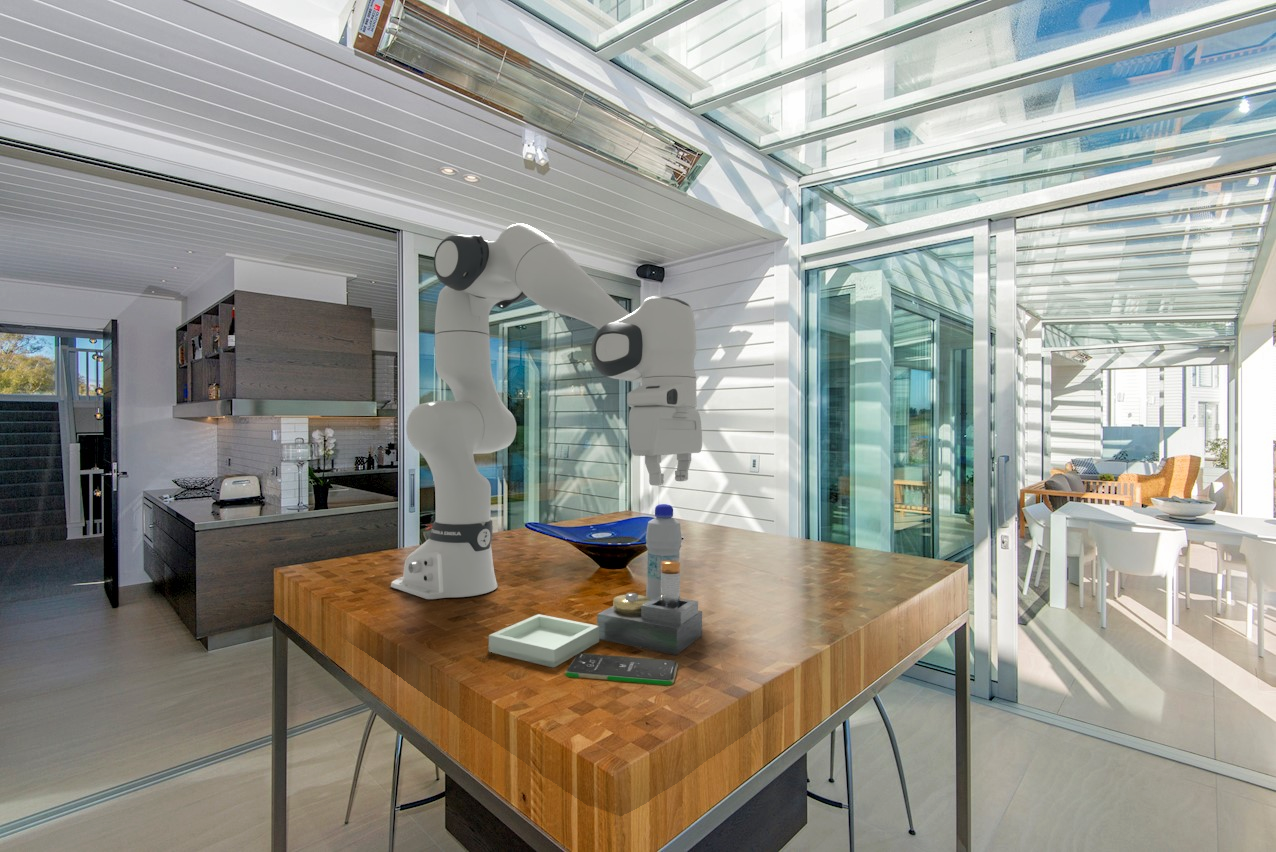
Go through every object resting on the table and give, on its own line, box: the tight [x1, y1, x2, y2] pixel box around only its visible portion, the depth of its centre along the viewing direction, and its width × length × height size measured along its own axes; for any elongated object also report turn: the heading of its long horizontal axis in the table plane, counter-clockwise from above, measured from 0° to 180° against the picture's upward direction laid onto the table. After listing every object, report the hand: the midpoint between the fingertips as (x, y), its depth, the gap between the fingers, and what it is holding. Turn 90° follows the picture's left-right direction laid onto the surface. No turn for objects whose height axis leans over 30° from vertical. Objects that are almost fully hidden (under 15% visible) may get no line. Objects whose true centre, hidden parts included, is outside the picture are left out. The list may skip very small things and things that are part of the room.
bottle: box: [645, 503, 683, 601], centre depth 110 cm, size 7×7×20 cm
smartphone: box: [564, 652, 679, 686], centre depth 84 cm, size 8×1×15 cm
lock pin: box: [661, 560, 681, 609], centre depth 95 cm, size 3×3×8 cm
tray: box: [488, 613, 600, 669], centre depth 92 cm, size 12×12×2 cm
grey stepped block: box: [596, 592, 703, 656], centre depth 97 cm, size 14×10×6 cm
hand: (669, 483), depth 96 cm, fingers open, 8 cm apart
